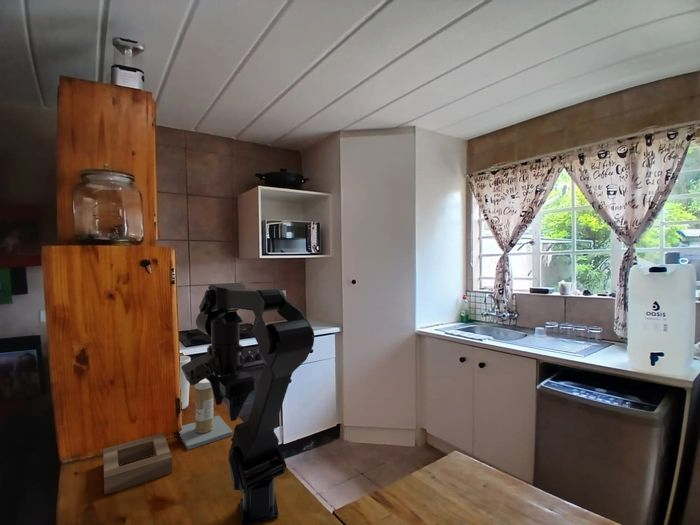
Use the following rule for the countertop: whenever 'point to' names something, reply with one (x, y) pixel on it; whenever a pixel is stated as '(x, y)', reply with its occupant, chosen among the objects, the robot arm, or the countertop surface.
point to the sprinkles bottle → (204, 407)
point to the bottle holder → (139, 470)
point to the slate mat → (198, 439)
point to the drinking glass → (184, 382)
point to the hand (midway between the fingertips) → (225, 412)
